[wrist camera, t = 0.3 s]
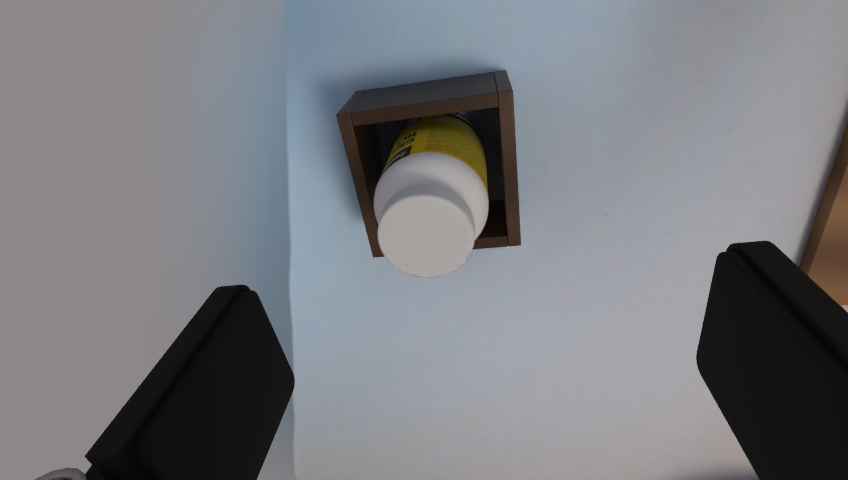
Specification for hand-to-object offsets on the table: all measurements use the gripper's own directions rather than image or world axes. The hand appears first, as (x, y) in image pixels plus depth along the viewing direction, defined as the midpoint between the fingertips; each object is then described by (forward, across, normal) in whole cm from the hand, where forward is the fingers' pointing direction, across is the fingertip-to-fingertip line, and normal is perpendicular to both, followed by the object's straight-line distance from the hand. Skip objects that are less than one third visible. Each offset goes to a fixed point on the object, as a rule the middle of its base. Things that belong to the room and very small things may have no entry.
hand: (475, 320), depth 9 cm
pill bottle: (+22, +3, +4) cm, 23 cm away
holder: (+22, +3, +4) cm, 22 cm away
